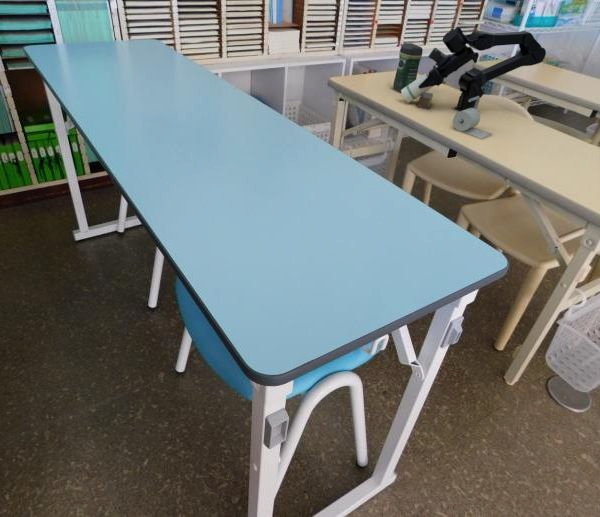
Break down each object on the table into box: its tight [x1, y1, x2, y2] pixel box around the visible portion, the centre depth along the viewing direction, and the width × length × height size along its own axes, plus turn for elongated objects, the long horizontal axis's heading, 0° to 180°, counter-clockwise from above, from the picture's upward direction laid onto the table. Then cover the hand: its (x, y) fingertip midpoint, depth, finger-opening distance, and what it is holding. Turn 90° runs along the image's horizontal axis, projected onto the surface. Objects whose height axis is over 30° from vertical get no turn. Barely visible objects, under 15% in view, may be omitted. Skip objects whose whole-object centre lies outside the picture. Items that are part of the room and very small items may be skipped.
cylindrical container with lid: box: [401, 72, 434, 104], centre depth 176 cm, size 12×6×12 cm, turn 83°
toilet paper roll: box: [452, 96, 491, 139], centre depth 156 cm, size 10×11×12 cm
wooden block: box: [417, 91, 434, 110], centre depth 178 cm, size 4×8×4 cm, turn 157°
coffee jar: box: [392, 42, 424, 92], centre depth 189 cm, size 10×8×19 cm
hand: (420, 85), depth 176 cm, fingers closed on cylindrical container with lid, 6 cm apart
